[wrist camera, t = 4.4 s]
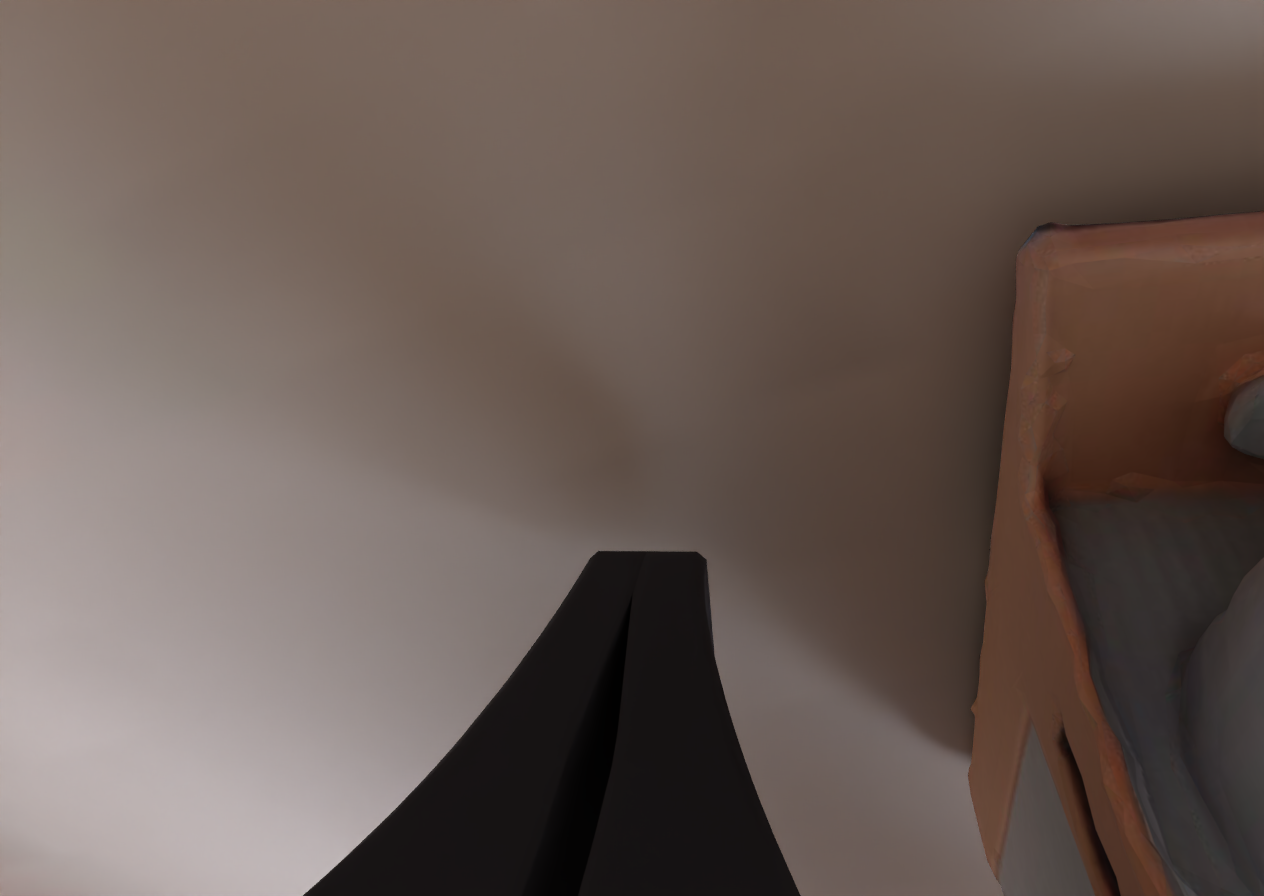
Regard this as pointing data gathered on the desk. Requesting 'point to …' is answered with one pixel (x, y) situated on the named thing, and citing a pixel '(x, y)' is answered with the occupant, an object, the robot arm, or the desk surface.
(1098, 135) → the desk surface
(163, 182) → the desk surface
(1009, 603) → the electronic device
